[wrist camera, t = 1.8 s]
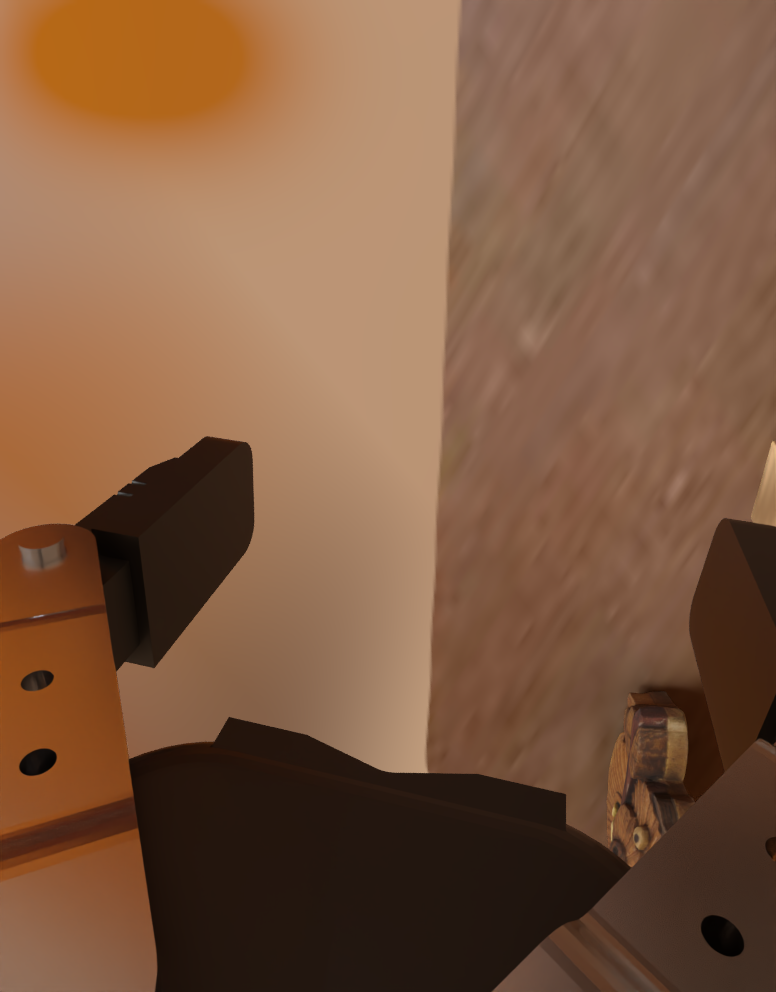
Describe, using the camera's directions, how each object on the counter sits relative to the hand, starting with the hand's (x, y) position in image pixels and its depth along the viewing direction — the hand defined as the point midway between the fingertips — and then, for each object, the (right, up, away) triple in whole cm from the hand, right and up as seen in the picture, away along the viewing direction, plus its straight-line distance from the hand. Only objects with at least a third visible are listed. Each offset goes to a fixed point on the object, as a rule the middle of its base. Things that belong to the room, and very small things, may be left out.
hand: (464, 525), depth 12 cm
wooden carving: (+15, -17, +35) cm, 42 cm away
